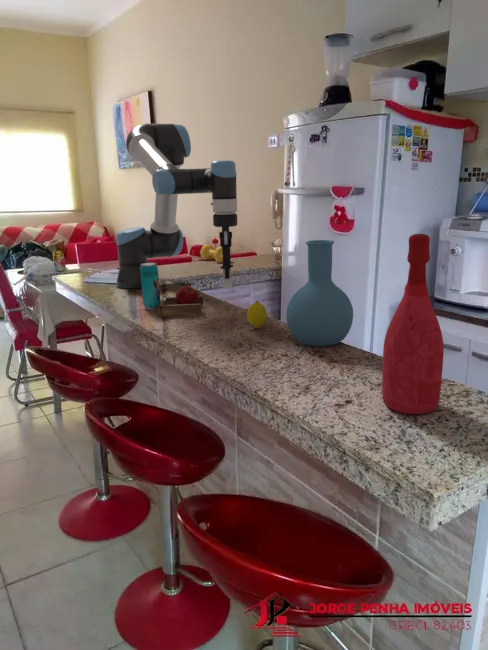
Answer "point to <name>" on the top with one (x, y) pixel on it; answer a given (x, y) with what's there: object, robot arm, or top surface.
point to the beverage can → (150, 285)
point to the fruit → (257, 314)
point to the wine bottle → (413, 342)
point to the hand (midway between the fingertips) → (227, 287)
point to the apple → (187, 296)
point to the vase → (319, 302)
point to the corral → (179, 308)
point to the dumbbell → (212, 253)
